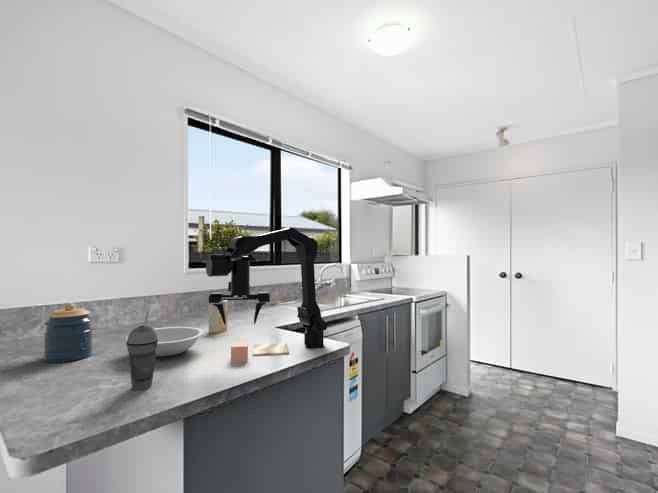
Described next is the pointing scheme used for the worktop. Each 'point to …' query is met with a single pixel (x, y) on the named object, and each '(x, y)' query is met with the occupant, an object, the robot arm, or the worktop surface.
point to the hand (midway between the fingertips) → (240, 324)
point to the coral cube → (239, 352)
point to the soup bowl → (175, 339)
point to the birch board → (270, 349)
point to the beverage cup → (142, 355)
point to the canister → (68, 335)
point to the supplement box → (216, 319)
